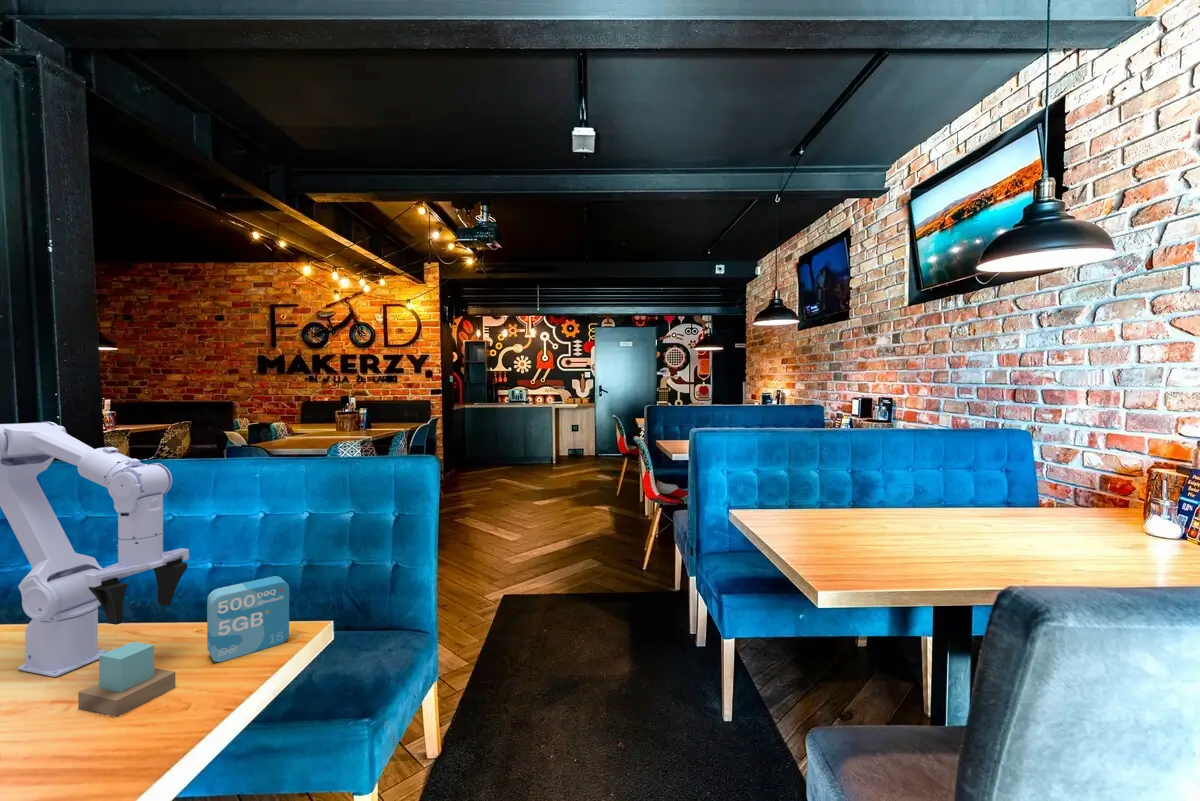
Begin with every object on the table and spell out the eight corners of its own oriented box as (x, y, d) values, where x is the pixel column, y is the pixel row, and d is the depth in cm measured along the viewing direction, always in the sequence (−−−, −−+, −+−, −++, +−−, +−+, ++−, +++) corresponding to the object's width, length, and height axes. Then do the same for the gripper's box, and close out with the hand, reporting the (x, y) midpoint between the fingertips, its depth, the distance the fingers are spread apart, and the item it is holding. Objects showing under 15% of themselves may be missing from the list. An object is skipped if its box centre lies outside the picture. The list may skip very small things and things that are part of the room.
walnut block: (78, 712, 75) (78, 692, 75) (139, 683, 83) (139, 665, 83) (116, 721, 73) (116, 700, 73) (175, 690, 81) (175, 672, 81)
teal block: (99, 688, 76) (99, 655, 76) (133, 672, 81) (133, 641, 81) (120, 692, 75) (120, 659, 75) (153, 676, 80) (154, 645, 80)
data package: (211, 665, 88) (211, 597, 88) (207, 656, 91) (207, 590, 91) (289, 641, 96) (289, 579, 96) (283, 634, 99) (283, 573, 99)
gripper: (107, 549, 79) (107, 635, 79) (201, 526, 93) (201, 599, 93) (75, 545, 80) (75, 630, 80) (172, 524, 95) (172, 595, 95)
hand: (140, 613), depth 87 cm, fingers open, 7 cm apart
